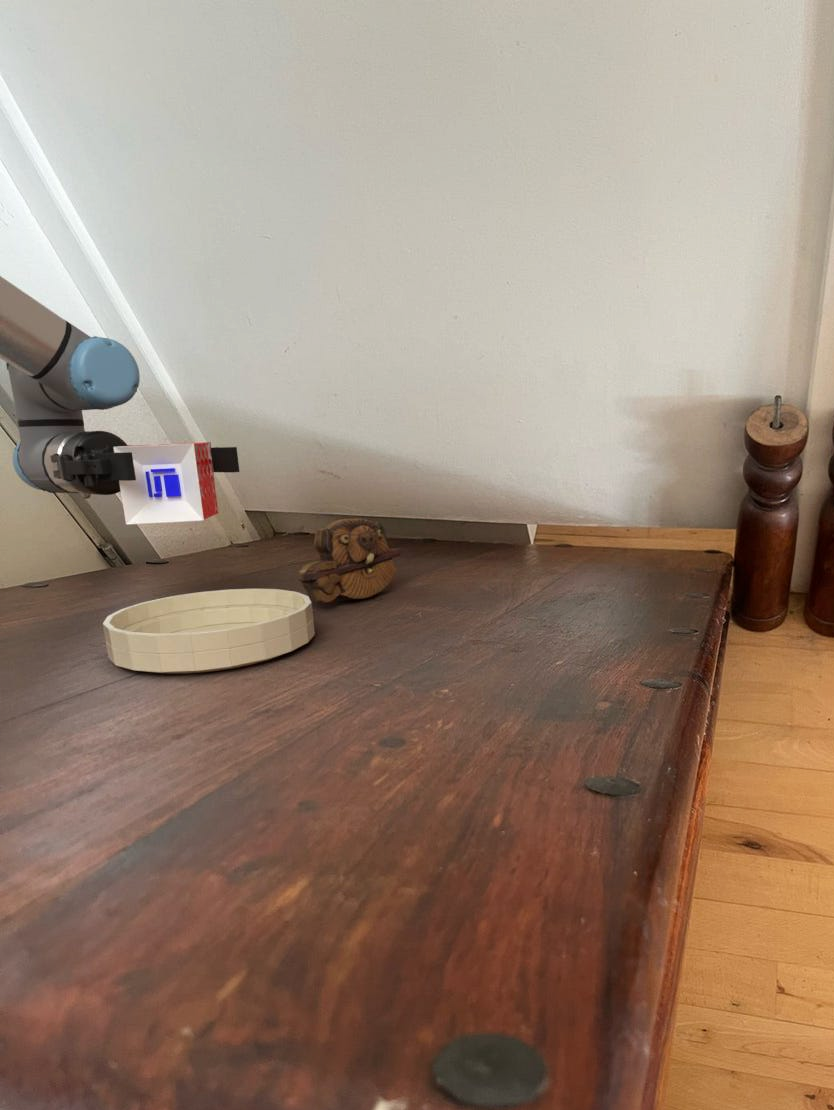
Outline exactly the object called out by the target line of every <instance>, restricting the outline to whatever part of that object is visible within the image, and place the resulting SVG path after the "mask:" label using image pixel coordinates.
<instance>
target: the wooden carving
mask: <svg viewBox="0 0 834 1110" xmlns="http://www.w3.org/2000/svg"><path fill="white" fill-rule="evenodd" d="M314 533H315V534H314V542H313V545H314V549H315V551H316V552H317V553H318V555H319V558H320V561H319V560H317V561H310V562H308V563H306V564H304V565H303V566H302V567H301V569H300V570H298V572H297V579H298V581H299V582H301V584H302V587H303V588H304V590H305V591H306V593H307V596H309V598H310V600H311V602H312V604H319V603H330V602H332V601H334V600H335V599H337V600H341V601H342V600H343V601H350V600H362V599H367V598H370V597H373V596H375V595H377V594H378V593H380V592H382V591H384V590H385V588H387V587H388V586H389V585H390V583H391V582H392V581H393V580H394V579H395V577H396V576H397V574H398V568H396V567H395V566H394V562H393V560H392V559H395V558H397V557H399V556H401V555H402V554H403V549H402V548H401V547H396V548H389V545H388V542H387V532H386V529H385V527H384V526H383V524H382V522H380V521H376V522H374V521H372V520H368V519H365V518H342V519H339V520H334V521H333V522H330V523H329V524H327V526H325V527H324V528H317V529H316V530H315V532H314Z"/></svg>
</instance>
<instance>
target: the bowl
mask: <svg viewBox="0 0 834 1110" xmlns="http://www.w3.org/2000/svg"><path fill="white" fill-rule="evenodd" d="M102 628H103V629H102V630H103V634H104V640H105V647H106V651H107V657H108V659H109V660H110V661H111V662H112V664H114V666H117V667H120V668H123V669H128V670H131V671H135V672H136V671H137V672H146V673H147V672H148V673H156V674H169V675H170V674H171V675H173V674H174V675H175V674H176V675H177V674H178V675H179V674H181V675H182V674H184V675H185V674H198V673H199V674H200V673H210V672H219V671H225V670H232V669H237V668H243V667H248V666H251V665H255V664H259V663H264V662H267V661H270V660H273V659H275V658H278V657H280V656H283V655H285V654H288V653H290V652H293V651H295V650H297V649H299V648H300V647H302V646H304V645H306V644H308V643H309V642H310V641H311V640H312V638H313V637H314V636H315V635H316V634H315V633H316V632H315V631H316V630H315V621H314V612H313V603H312V602H311V600H310V598H309V596H308V595H306V594H303V593H301V592H298V591H293V590H286V589H279V588H236V589H235V588H233V589H231V588H230V589H218V590H207V591H199V592H198V591H197V592H191V593H184V594H177V595H171V596H166V597H162V598H156V599H153V600H148V601H147V600H146V601H143V602H140V603H136V604H133V605H130V606H127V607H124V608H121V609H119V610H117V611H114V612H112V613H111V614H108V615H107V616H106V618H105V619H104V620H103V622H102Z"/></svg>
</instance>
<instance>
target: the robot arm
mask: <svg viewBox="0 0 834 1110" xmlns="http://www.w3.org/2000/svg"><path fill="white" fill-rule="evenodd" d="M0 360H3V362H5V366H6V371H8V376H9V381H10V387H11V393H12V398H13V403H14V408H15V414H16V419H17V424H18V425H17V426H18V434H19V435H18V436H19V440H20V441H19V442H18V443H17V444H16V446H15V448H14V450H13V453H12V465H13V468H14V471H15V473H16V475H17V477H18V478H19V479H20V480H21V481H22V482H23V483H24V484H26V485H27V486H29V487H31V488H34V489H36V490H39V491H43V492H47V493H50V494H81V497H82V498H83V499H86V500H87V499H90V498H91V495H98V496H99V495H100V496H110V495H111V496H112V495H115V494H118V493H121V491H120V485H119V480H122V481H131V480H136V476H135V470H134V464H133V457H132V452H124V453H114V448H113V447H120V446H135V444H134V445H133V444H129V445H128V444H127V443H126V442H125V440H123V439H122V438H121V437H120V436H119V435H117V434H115V433H112V432H110V431H105V430H90V431H88V430H85V422H84V415H83V411H91V410H99V411H103V410H110V409H112V408H113V409H114V408H115V407H119V406H122V405H124V404H126V403H128V402H129V401H130V400H132V399H133V397H134V396H135V395H136V393H137V392H138V389H139V386H140V380H141V377H140V376H141V375H140V369H139V365H138V362H137V361H136V358H135V357H134V355H133V354H132V352H131V351H130V350H129V349H128V348H127V347H126V346H125V345H124V344H122V343H121V342H119V341H117V340H115V339H112V338H109V337H102V336H96V335H95V336H89V334H87V333H86V332H85V331H82V330H81V329H80V328H79V327H77V326H75V325H74V324H72V323H71V322H69V321H68V320H66V319H65V318H63V317H61V316H60V315H58V313H56V312H54V311H52V310H51V309H50V308H48V307H47V306H45V305H44V304H42V303H41V302H40V301H38V300H36V299H35V298H34V297H32V296H31V295H29V294H27V293H26V292H25V291H24V290H22V289H20V288H19V287H17V286H16V285H15V284H13V283H12V282H10V281H9V280H8V279H5V277H3V276H1V275H0ZM207 442H208V441H207ZM207 442H205V441H204V442H203V443H207ZM209 442H210V449H211V457H212V465H213V472H214V473H240V464H239V463H240V462H239V455H238V447H237V446H227V447H225V446H224V447H223V446H221V447H218V446H216V447H215V446H214V447H212V444H211V441H209Z"/></svg>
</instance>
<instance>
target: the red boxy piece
mask: <svg viewBox="0 0 834 1110" xmlns="http://www.w3.org/2000/svg"><path fill="white" fill-rule="evenodd" d="M210 442H211V441H207V443H204V442H187V443H161V444H138V445H137V444H136V445H135V444H134V446H120V447H113V448H114V453H124V452H132V457H133V464H134V470H135V476H136V480H131V481H122V480H119V485H120V496H121V502H122V509H123V515H124V521H125V525H126V526H127V525H143V524H162V523H181V522H183V523H185V522H201V521H202V522H203V521H206V520H208V519H210V518H212V517H215V516H216V515H218V514H219V505H218V497H217V489H216V480H215V472H213V465H212V457H211V449H210Z"/></svg>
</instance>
